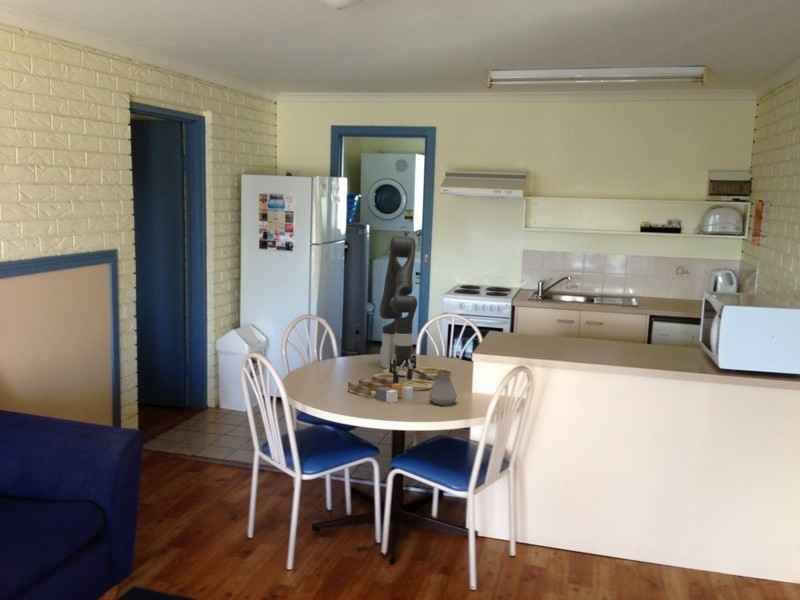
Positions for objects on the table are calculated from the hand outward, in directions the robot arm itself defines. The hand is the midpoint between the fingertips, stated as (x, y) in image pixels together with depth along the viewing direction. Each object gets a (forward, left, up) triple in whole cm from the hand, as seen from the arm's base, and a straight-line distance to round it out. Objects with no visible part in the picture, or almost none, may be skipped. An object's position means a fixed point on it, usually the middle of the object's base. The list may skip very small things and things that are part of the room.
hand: (402, 381), depth 290 cm
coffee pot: (+14, +2, -7) cm, 16 cm away
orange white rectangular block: (0, 0, -7) cm, 7 cm away
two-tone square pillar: (-1, -8, -7) cm, 11 cm away
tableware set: (-16, +22, -7) cm, 28 cm away
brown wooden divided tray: (-14, -4, -7) cm, 16 cm away
